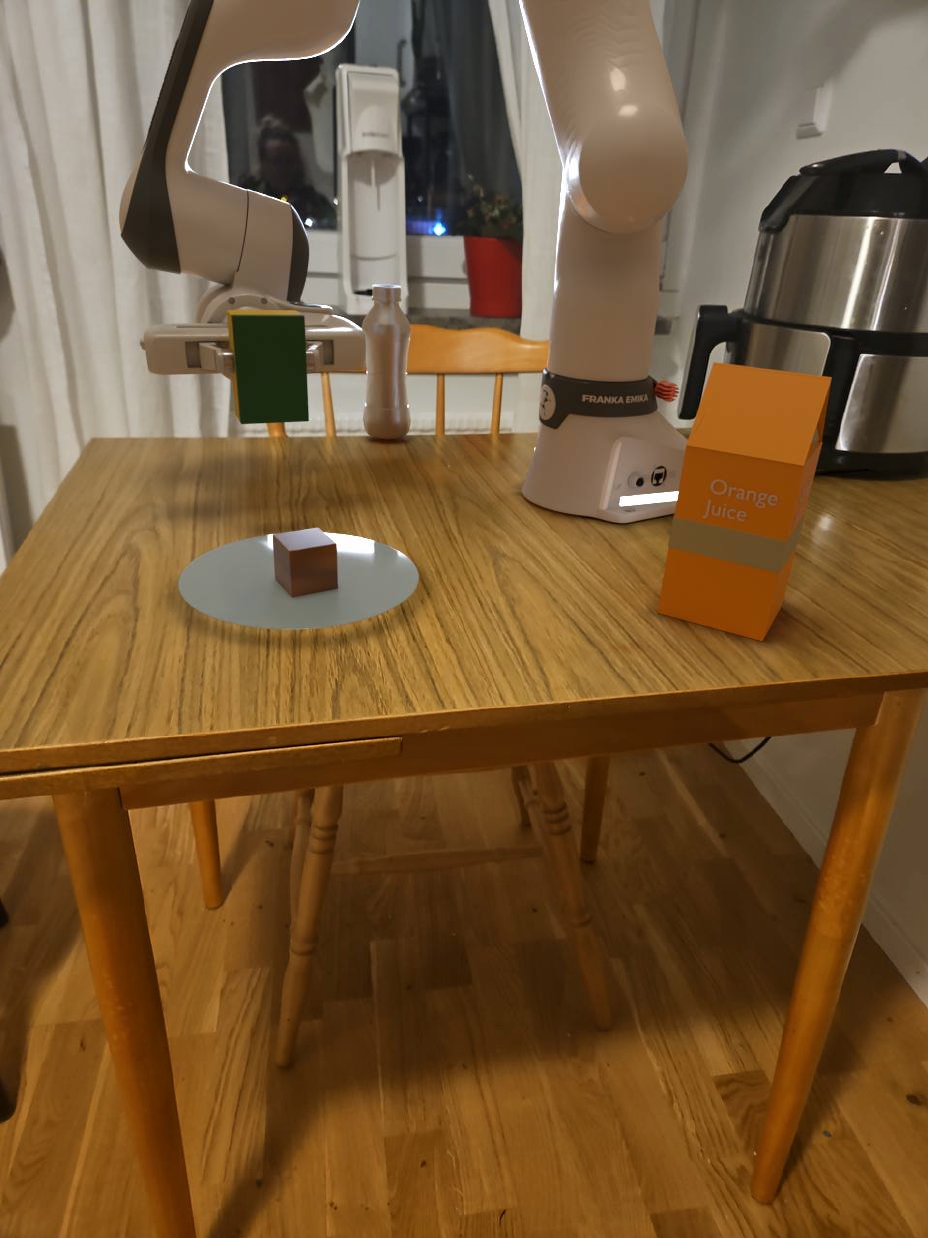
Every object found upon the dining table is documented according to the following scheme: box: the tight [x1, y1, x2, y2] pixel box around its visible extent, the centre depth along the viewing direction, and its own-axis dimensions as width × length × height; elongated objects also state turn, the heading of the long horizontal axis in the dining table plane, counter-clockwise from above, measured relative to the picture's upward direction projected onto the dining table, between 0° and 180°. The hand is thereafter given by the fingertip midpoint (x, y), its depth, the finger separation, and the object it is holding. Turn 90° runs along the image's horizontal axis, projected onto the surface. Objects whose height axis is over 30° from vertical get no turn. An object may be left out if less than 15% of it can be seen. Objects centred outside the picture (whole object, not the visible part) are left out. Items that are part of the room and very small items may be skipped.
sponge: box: [227, 310, 310, 425], centre depth 72 cm, size 6×4×9 cm, turn 111°
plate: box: [177, 532, 420, 631], centre depth 69 cm, size 20×20×1 cm
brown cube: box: [272, 527, 338, 597], centre depth 66 cm, size 4×4×4 cm
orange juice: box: [656, 361, 833, 642], centre depth 65 cm, size 8×9×20 cm
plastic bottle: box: [361, 284, 412, 441], centre depth 110 cm, size 6×7×20 cm
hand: (270, 362), depth 71 cm, fingers closed on sponge, 6 cm apart
